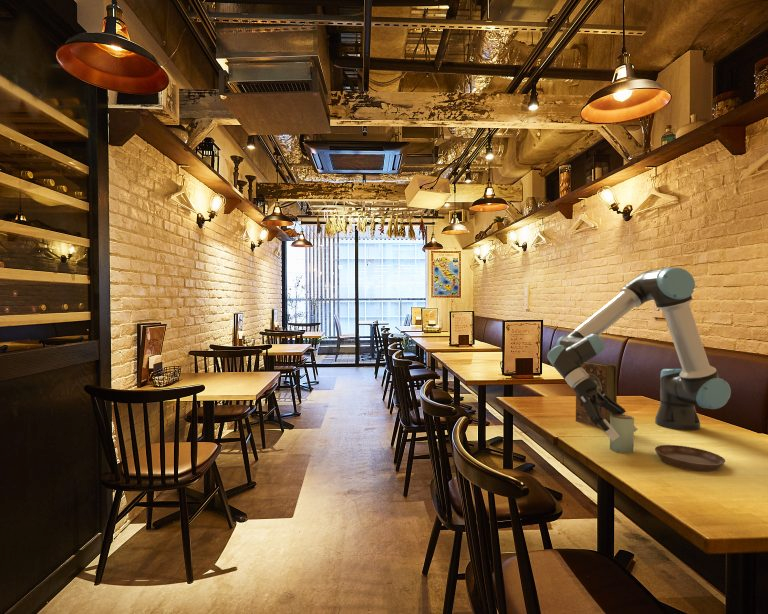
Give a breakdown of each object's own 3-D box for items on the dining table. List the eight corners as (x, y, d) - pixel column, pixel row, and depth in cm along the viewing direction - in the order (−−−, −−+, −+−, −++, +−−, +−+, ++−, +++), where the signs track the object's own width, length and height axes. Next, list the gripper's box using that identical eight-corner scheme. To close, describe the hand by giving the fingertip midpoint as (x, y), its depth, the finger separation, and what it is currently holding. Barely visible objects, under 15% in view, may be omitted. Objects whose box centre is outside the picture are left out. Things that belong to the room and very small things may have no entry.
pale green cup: (629, 447, 148) (629, 414, 148) (637, 454, 142) (637, 419, 142) (606, 446, 150) (607, 413, 150) (614, 452, 143) (614, 418, 143)
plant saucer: (720, 460, 137) (720, 450, 137) (730, 478, 122) (730, 467, 122) (654, 450, 146) (654, 441, 146) (655, 466, 131) (655, 456, 131)
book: (573, 420, 185) (573, 361, 185) (583, 419, 187) (583, 360, 187) (606, 430, 169) (606, 365, 169) (616, 429, 171) (616, 365, 171)
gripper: (591, 386, 166) (633, 434, 154) (555, 393, 151) (599, 448, 139) (605, 373, 162) (649, 422, 150) (570, 380, 146) (616, 435, 135)
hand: (625, 435), depth 144 cm, fingers open, 13 cm apart
